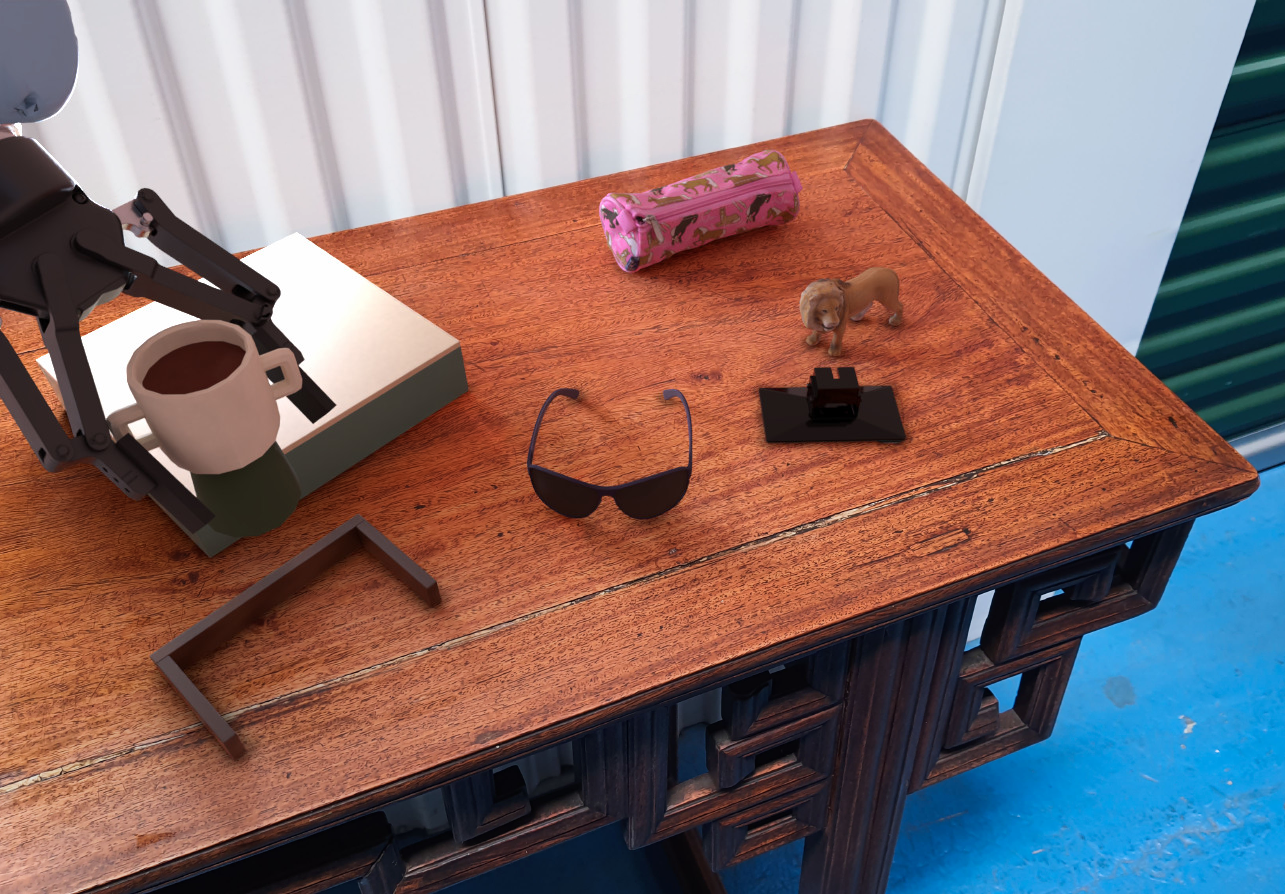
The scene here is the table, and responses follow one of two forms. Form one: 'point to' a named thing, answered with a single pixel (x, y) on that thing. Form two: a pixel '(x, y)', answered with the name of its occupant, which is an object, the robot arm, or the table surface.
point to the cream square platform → (309, 366)
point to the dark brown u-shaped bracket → (267, 597)
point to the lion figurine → (848, 303)
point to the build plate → (831, 411)
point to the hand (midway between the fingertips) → (267, 467)
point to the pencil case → (699, 209)
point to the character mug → (216, 420)
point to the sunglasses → (631, 498)
